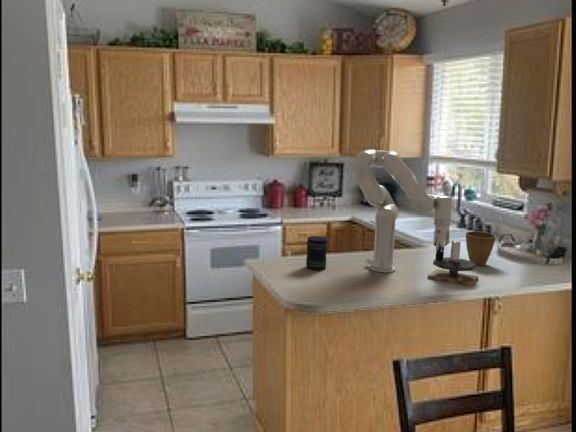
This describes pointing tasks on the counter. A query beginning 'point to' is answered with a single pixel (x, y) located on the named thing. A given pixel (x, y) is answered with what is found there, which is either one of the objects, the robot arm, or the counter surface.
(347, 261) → the counter surface
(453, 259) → the steel pipe
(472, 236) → the plant pot
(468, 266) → the grey petal ring
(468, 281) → the base board
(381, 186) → the robot arm
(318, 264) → the storage jar
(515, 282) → the counter surface
